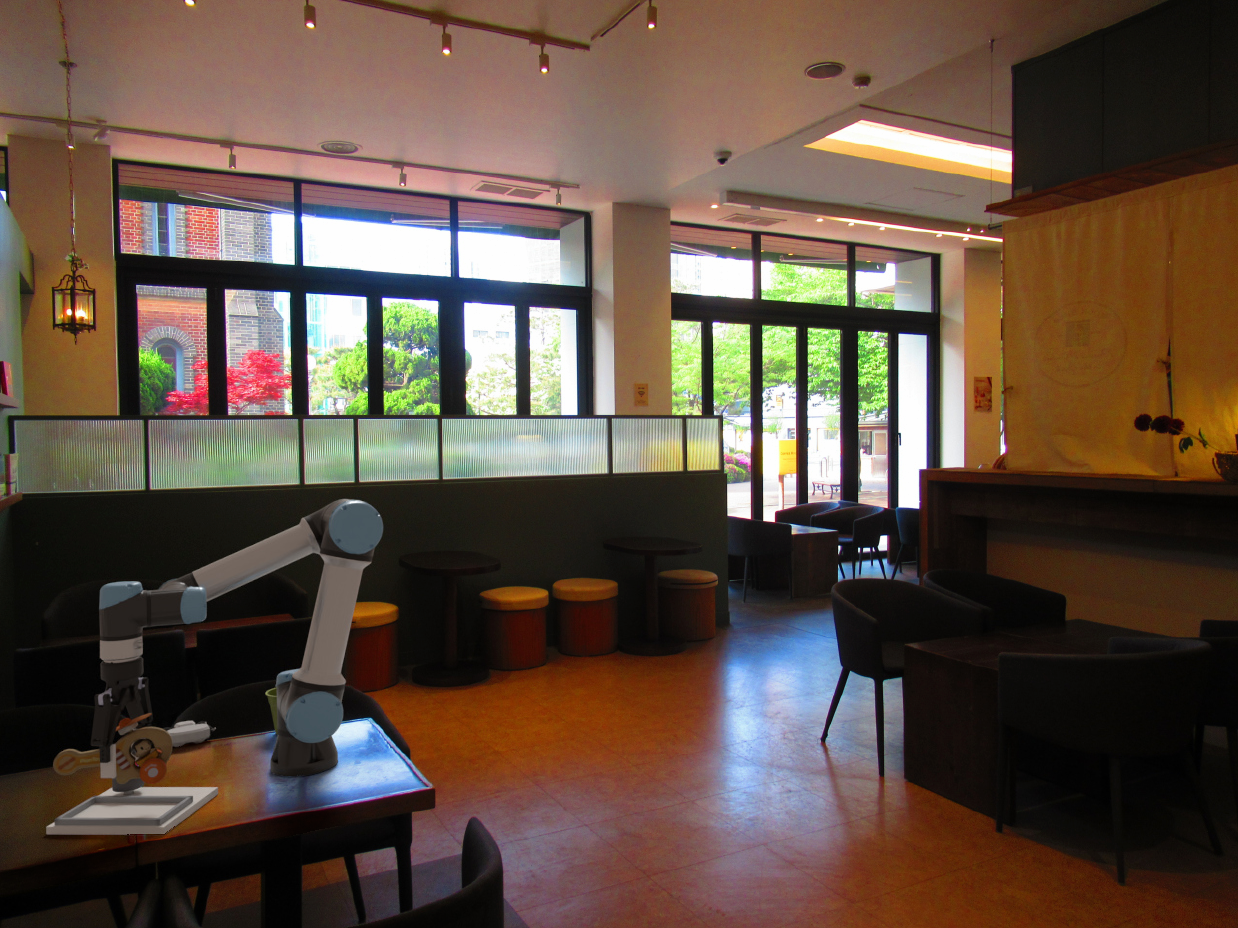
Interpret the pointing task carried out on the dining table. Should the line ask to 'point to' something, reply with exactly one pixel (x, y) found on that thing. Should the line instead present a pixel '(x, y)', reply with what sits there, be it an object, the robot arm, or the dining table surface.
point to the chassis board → (132, 811)
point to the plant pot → (273, 705)
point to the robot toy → (189, 732)
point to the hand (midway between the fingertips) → (124, 768)
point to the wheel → (127, 785)
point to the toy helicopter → (126, 754)
